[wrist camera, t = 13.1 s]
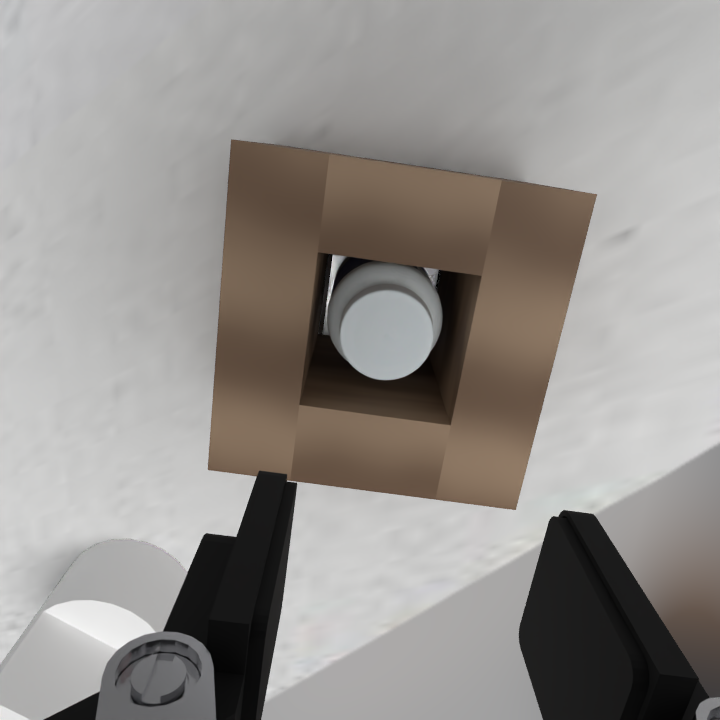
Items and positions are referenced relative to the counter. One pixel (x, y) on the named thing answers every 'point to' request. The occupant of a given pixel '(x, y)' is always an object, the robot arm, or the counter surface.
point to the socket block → (445, 361)
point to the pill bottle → (383, 317)
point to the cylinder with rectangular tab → (88, 626)
